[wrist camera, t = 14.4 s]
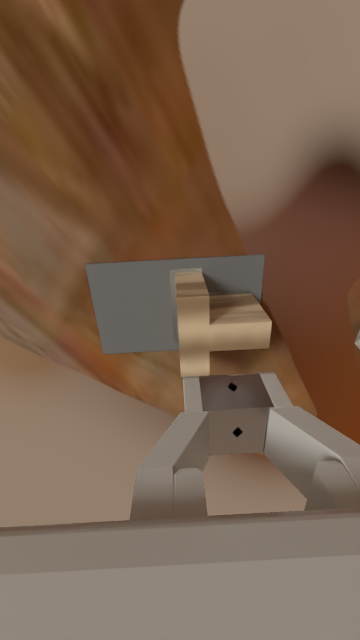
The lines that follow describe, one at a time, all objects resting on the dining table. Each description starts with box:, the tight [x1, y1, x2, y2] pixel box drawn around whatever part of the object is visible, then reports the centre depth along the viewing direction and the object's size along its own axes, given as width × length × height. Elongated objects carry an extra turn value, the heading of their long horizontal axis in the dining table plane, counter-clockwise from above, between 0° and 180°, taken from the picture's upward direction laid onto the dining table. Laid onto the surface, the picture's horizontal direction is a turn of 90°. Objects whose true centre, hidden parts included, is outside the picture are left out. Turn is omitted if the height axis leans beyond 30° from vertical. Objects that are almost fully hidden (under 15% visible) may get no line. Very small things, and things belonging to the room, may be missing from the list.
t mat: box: [85, 254, 265, 354], centre depth 45 cm, size 16×27×1 cm, turn 93°
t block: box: [175, 272, 272, 377], centre depth 41 cm, size 12×12×10 cm
